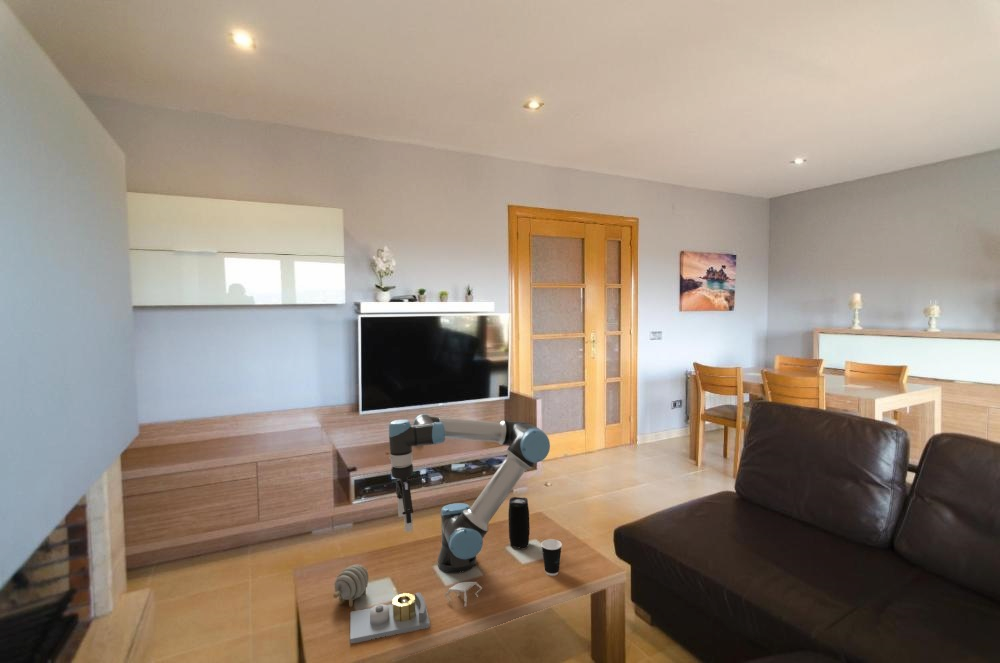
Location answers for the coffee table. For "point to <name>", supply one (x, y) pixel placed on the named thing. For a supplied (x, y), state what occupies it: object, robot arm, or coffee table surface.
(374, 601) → the coffee table surface
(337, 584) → the toy sheep
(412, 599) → the gold octagonal ring
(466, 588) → the origami figure
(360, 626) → the carrier plate
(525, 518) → the portable speaker
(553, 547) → the dixie cup
